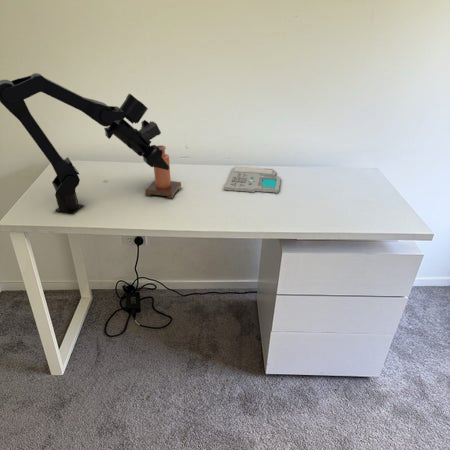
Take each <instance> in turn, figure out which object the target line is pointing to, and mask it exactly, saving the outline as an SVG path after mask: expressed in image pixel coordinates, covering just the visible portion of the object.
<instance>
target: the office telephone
mask: <svg viewBox="0 0 450 450" xmlns="http://www.w3.org/2000/svg"><path fill="white" fill-rule="evenodd" d="M276 173H277V170H275V169H273V168H268V167H267V168H266V167H254V166H253V167H250V166H237V165H235V166H233V168H232V170H231V172H230V175H229V177H228V179H227V181H226V183H225V185H224V191H235V192H249V193H250V192H252V193H254V192H265V193H274V194H279V191H280V186H281V176H276Z"/></svg>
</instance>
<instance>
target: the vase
mask: <svg viewBox="0 0 450 450" xmlns="http://www.w3.org/2000/svg"><path fill="white" fill-rule="evenodd" d="M156 146H157V147H158V148H159V149H161V150H162V151H163V154H162V158H163V159H164V161H165V162H166V163H167V165H168V166H169V167H170V168H169V169H168V170H165V169H161V168H157V167H153V174H154V180H155V186H156V187H157V188H161V189H164V188H169V187H171V181H172V179H171V178H172V177H171V163H170V155H169V154H167V153H166V149H167V146H166V145H161V144H160V145H156Z"/></svg>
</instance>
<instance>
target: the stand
mask: <svg viewBox="0 0 450 450" xmlns="http://www.w3.org/2000/svg"><path fill="white" fill-rule="evenodd" d="M181 189H182V182H181V181H174V180H171V187H169V188H164V189H161V188H157V187H156V186H155V179H154V180H153V181H152V182H151V183H150V184H149V185H148V186H147V187H145V189H144V192H145V196H146V197H152V196H153V195H154V196H155V195H156V196H163V197H167V199H169V200H172V199H174V197H175V196H174V195H175V194H176V193H177V192H178V191H180V190H181Z"/></svg>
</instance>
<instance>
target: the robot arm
mask: <svg viewBox="0 0 450 450" xmlns="http://www.w3.org/2000/svg"><path fill="white" fill-rule="evenodd" d="M38 93H39V94H40V93H42V94H45V95H46V96H50V98H53V99H55V100H57V101H60V102H61V103H64V104H65V105H68V106H70V107H72V108H74V109H76V110H78V111H81V112H82V113H84V115H86V116H88V117H89V118H90V119H92V120H93V121H95V122H96V123H97V124H99V125H100V126H102V127H104V128H103V130H104V133H105V137H107V139H109V140H110V139H111V138H112V137H113V136H114V137H115V138H116V139H118V140H119V141H121V142H122V143H123V144H124V145H126V146H127V148H129V149H130V150H131V151H133V153H135V154H136V155H138V156H139V157H142V159H143V162H145V163H146V164H147V165H148V166H149V167H150V168H154V167H157V168H161V169H165V170H168V169H169V168H170V169H171V166H170V167H169V166H168V165H167V163H166V162H165V161H164V159H163V158H162V154H163V151H162V150H161V149H159V148H158V147H157V146H158V145H156V144H152V140H153V139H155V138H156V137H157V136H160V135H161V134H162V132H161V130H160V128H159V126H158V124H157V123H156V122H155V121H147V120H146V119H144V120H142V121H141V119H142V118H143V116H144V115H145V114H146V113H147V111H148V110H149V108H148V107H147V106H146V105H145V104H144V103H143V102H142V101H140V100H139V99H137V98H136V97H135V96H134V95H132V94H131V93H128V94H127V95H126V98H125V100H124V101H123V103H122V104H121V105H120V106H113V105H107V104H106V103H105V102H103V101H99V100H96V99H92V98H89V97H84V96H82V95H80V94H78V93H76V92H74V91H72V90H70V89H68V88H66V87H64V86H62V85H60V84H59V83H57V82H54V81H53V80H50V79H49V78H46V77H45V76H43V75H42V74H41V73H38V72H35V73H32V74H31V75H27V76H23V77H19V78H16V79H13V80H9V79H1V80H0V104H2V105H3V106H4V108H6V109H7V111H8V112H9V113H11V115H13V116H14V117H15V118H16V119H17V120H18V121H19V122H20V123H21V125H22V126H23V128H24V129H25V130H26V132H27V133H28V134H29V136H30V137H31V138H32V140H33V141H34V143H35V144H36V145H37V147H38V149H40V151H41V152H42V153H43V155H44V156H45V158H46V159H47V160H48V161H49V163H50V164H51V166H52V168H53V171H54V172H55V174H56V176H55V177H54V178H53V180H52V182H51V184H52V186H53V188H54V190H55V193H54V195H55V199H56V203H57V208H55V209H54V211H55V213H62V214H68V215H69V214H70V215H73V214H75V213H76V212H77V211H78V210H80V209H82V208H83V206H84V205H83V204H80V203H79V199H78V195H77V192H76V191H77V190H76V189H77V187H78V186H79V185H80V181H81V179H80V177H79V175H80V173H79V171H78V169H77V168H76V166H74V164H73V162H72V161H71V159H70V158H69V157H68V156H67V157H66V158H64V157H63V156H62V155H61V154H60V153H59V152H58V150H57V148H56V147H55V146H54V145H53V143H52V142H51V140H50V139H49V138H48V136H47V135H46V134H45V132H44V130H43V129H42V127H41V126H40V125H39V123H38V122H37V120H36V119H35V118H34V116H33V114H32V113H31V112H30V110H29V107H28V106H27V103H26V102H25V100H26V99H28V98H30V97H32V96H34V95H37V94H38ZM125 119H126V120H127V121H128V122H127V121H126V120H125ZM140 121H141V122H140ZM139 122H140V123H141V127H140V129H139V130H138V129H137V128H135V127H133V125H134V124H139ZM130 123H131V124H132V125H131V124H130ZM151 144H152V145H151Z"/></svg>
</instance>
